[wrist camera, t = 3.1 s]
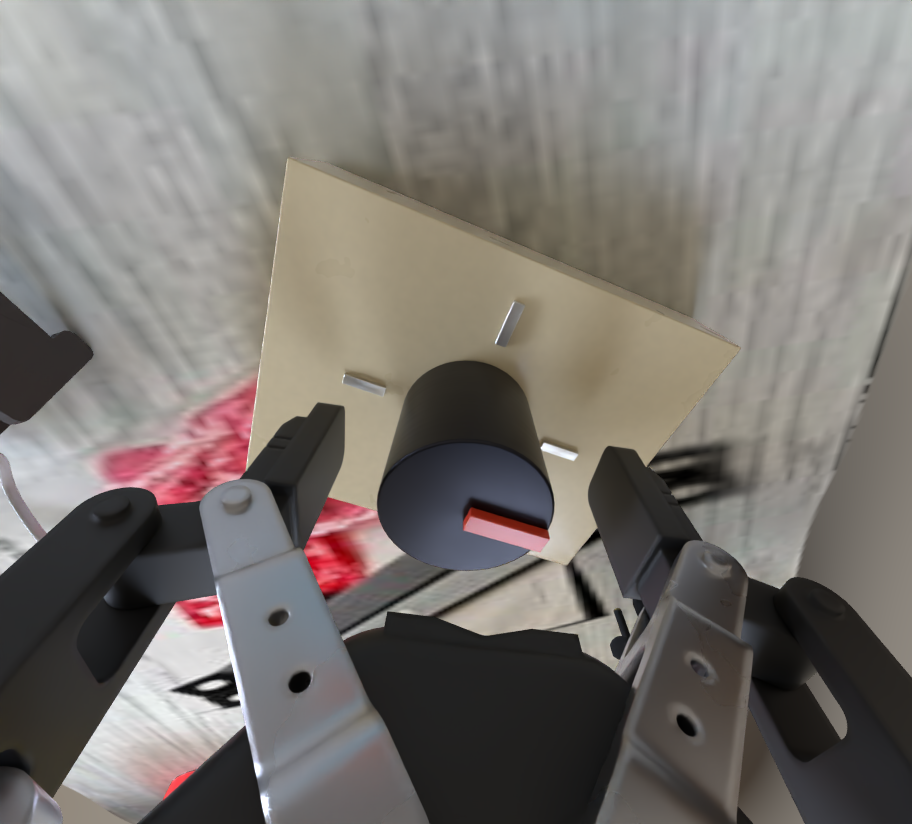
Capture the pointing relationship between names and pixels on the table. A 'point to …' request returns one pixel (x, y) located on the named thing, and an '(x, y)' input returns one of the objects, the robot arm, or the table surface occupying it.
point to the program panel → (463, 337)
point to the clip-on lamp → (31, 383)
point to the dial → (466, 471)
